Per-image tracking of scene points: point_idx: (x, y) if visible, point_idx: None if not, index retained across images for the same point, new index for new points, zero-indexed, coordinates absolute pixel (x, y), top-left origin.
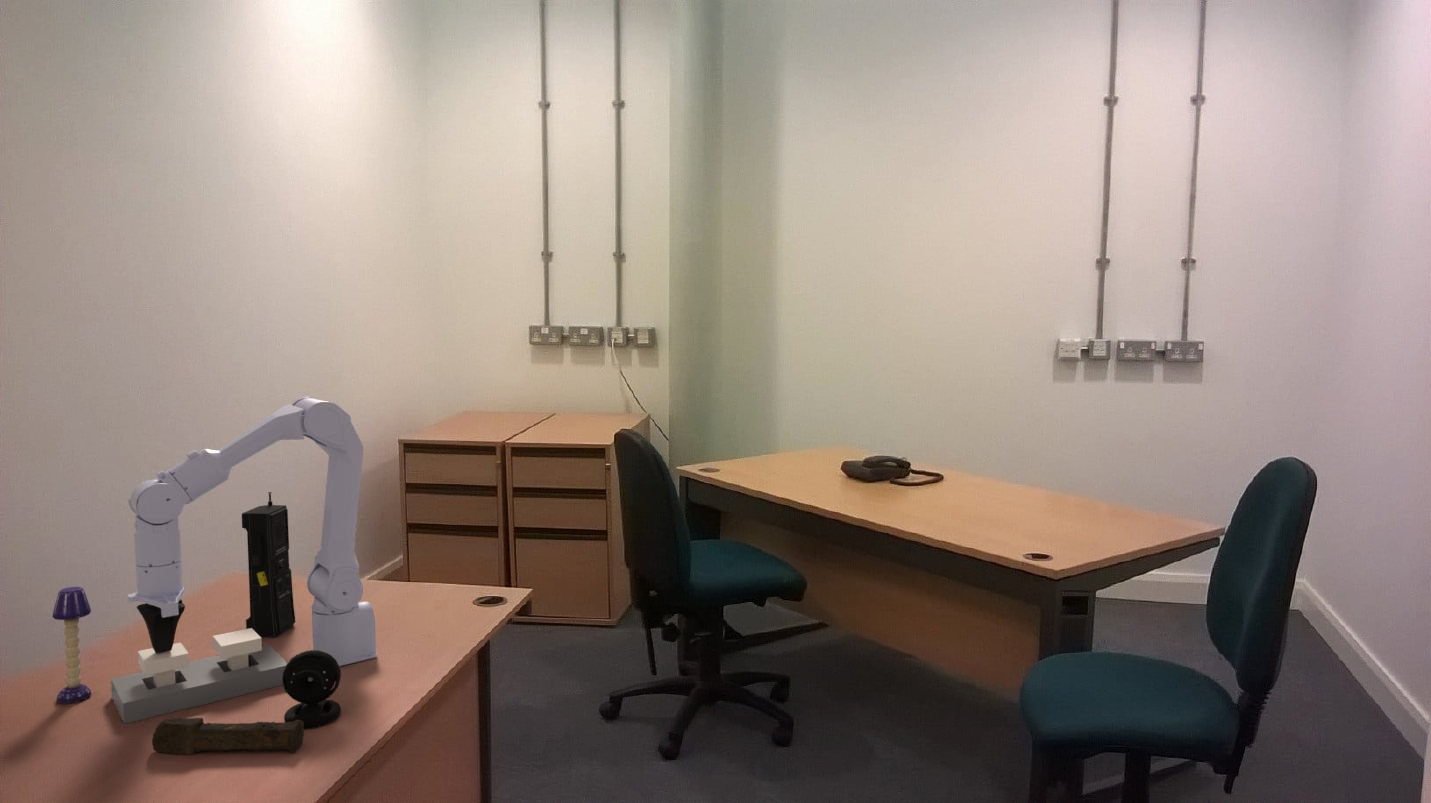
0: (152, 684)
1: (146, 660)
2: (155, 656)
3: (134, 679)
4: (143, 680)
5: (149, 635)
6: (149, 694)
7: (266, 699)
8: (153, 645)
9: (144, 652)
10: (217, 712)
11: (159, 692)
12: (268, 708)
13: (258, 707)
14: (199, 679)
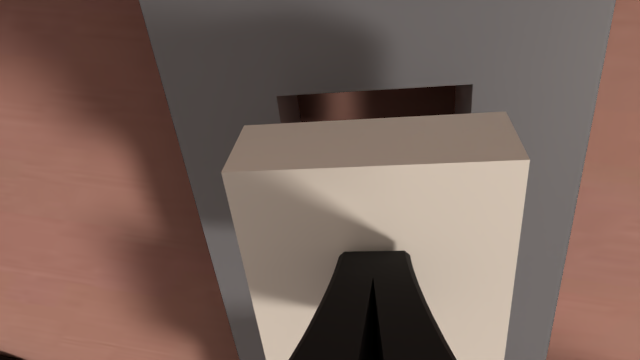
0: (464, 111)
1: (259, 186)
2: (312, 237)
3: (492, 48)
4: (469, 86)
5: (423, 330)
6: (204, 95)
7: (188, 355)
8: (328, 288)
9: (458, 193)
10: (144, 246)
11: (209, 136)
12: (116, 346)
13: (135, 331)
14: None
